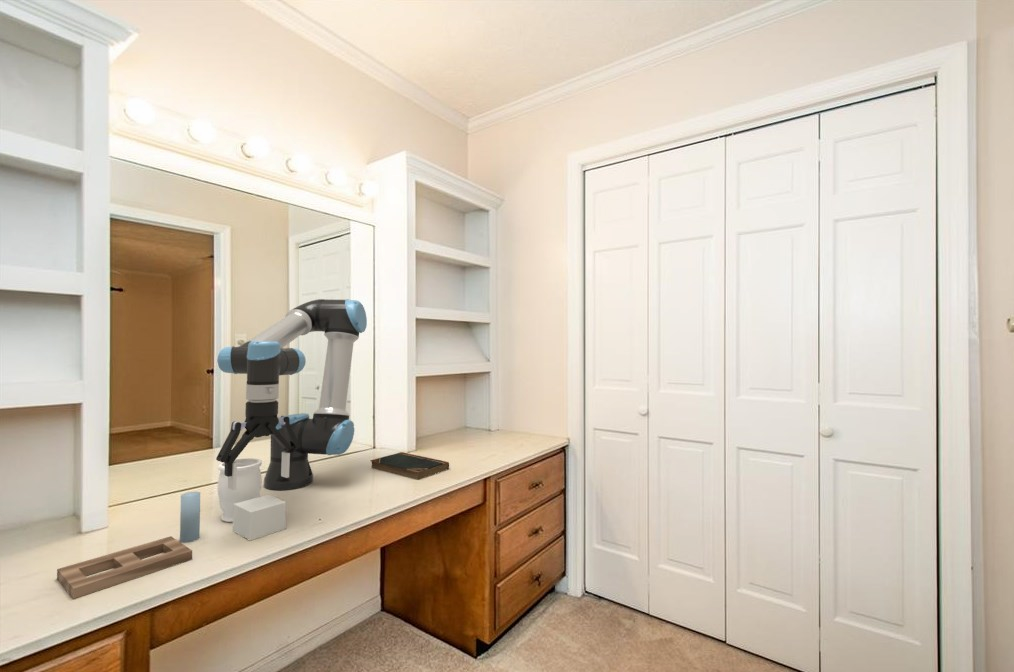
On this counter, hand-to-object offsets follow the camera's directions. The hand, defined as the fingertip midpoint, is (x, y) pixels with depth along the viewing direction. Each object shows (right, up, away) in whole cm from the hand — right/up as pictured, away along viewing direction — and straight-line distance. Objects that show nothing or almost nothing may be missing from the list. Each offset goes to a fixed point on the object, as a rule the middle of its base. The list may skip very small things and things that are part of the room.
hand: (259, 482), depth 121 cm
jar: (-10, -12, +9) cm, 18 cm away
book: (+26, -14, +59) cm, 66 cm away
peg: (-14, -12, -6) cm, 20 cm away
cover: (0, -12, 0) cm, 12 cm away
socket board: (-18, -12, -21) cm, 30 cm away
